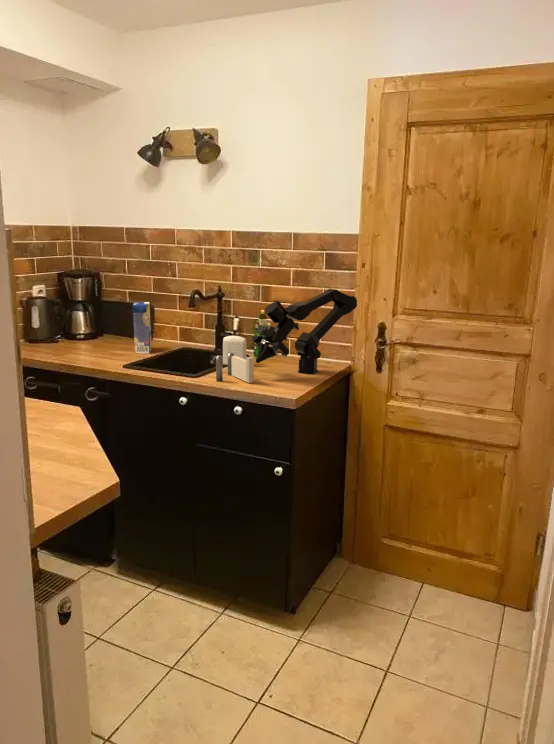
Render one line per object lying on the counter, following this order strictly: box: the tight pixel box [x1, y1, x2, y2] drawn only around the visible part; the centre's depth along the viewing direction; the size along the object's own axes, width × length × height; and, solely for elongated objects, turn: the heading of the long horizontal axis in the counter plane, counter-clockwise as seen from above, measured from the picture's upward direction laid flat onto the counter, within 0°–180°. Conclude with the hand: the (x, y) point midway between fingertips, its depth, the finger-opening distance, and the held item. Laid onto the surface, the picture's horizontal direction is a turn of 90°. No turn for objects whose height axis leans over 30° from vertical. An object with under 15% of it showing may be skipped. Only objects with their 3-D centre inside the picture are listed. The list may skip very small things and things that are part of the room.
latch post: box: [215, 355, 224, 382], centre depth 211 cm, size 2×2×10 cm
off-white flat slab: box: [231, 356, 255, 384], centre depth 214 cm, size 14×2×9 cm, turn 33°
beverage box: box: [132, 301, 152, 354], centre depth 261 cm, size 7×11×22 cm, turn 9°
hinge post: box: [227, 353, 234, 376], centre depth 221 cm, size 2×2×8 cm
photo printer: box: [222, 335, 247, 366], centre depth 237 cm, size 10×4×12 cm, turn 72°
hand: (256, 362), depth 214 cm, fingers closed
